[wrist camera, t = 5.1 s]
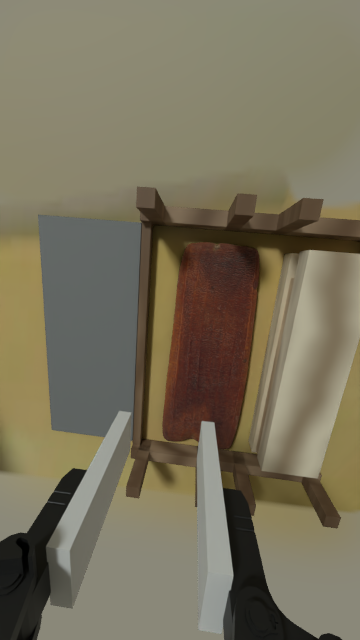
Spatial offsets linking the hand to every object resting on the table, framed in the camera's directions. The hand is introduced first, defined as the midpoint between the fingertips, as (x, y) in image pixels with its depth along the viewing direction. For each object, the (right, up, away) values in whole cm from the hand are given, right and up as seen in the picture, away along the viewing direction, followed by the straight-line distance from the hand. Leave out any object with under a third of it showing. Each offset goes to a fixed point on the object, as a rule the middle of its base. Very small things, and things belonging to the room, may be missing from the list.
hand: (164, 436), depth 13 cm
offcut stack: (+15, +2, +14) cm, 20 cm away
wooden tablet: (0, +3, +14) cm, 15 cm away
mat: (-11, +5, +15) cm, 19 cm away
